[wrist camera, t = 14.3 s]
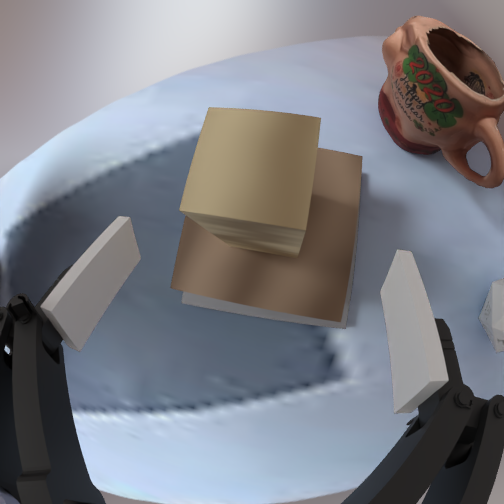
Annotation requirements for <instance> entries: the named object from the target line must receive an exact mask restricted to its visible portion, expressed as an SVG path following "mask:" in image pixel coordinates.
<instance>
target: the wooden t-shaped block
mask: <svg viewBox="0 0 504 504" xmlns="http://www.w3.org/2000/svg"><path fill="white" fill-rule="evenodd" d="M320 122H321V118H318V117H312V116H305V115H298V114H291V113H282V112H273V111H263V110H251V109H236V108H212V107H209V108H208V111H207V115H206V118H205V121H204V124H203V127H202V130H201V133H200V137H199V140H198V143H197V146H196V150H195V153H194V157H193V160H192V164H191V167H190V171H189V174H188V178H187V182H186V186H185V189H184V193H183V197H182V201H181V205H180V209H179V211H181V212H182V213H184V214H185V215H186V216H185V220H184V225H183V229H182V234H181V238H180V243H179V247H178V252H177V257H176V262H175V267H174V272H173V277H172V282H171V288H172V289H176V290H180V291H184V292H188V293H193V294H197V295H201V296H206V297H210V298H214V299H219V300H223V301H228V302H233V303H237V304H242V305H247V306H252V307H257V308H262V309H267V310H272V311H277V312H283V313H288V314H294V315H299V316H305V317H311V318H317V319H323V320H329V321H335V322H341V319H342V314H343V309H344V304H345V299H346V294H347V288H348V282H349V276H350V270H351V264H352V257H353V250H354V243H355V235H356V227H357V218H358V208H359V198H360V186H361V172H362V156H358V155H353V154H348V153H344V152H338V151H333V150H328V149H322V148H318V140H319V131H320Z"/></svg>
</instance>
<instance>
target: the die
mask: <svg viewBox="0 0 504 504" xmlns="http://www.w3.org/2000/svg"><path fill="white" fill-rule="evenodd" d="M478 319H479V320H480V322H481V324H482V326H483V328H484V329H485V331H486V333H487V335H488V337H489V339H490V341H491V343H492V345H493V347H494V349H495V351H496V353H498V352H501V351H504V278H503V279H500V280H497V281H494V282H492V284H491V287H490V290H489V293H488V295H487V298H486V301H485V303H484V306H483V308H482V311H481V313H480V315H479V318H478Z"/></svg>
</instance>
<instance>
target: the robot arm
mask: <svg viewBox="0 0 504 504" xmlns="http://www.w3.org/2000/svg"><path fill="white" fill-rule="evenodd" d="M140 259H141V256H140V253H139V249H138V246H137V242H136V238H135V235H134V231H133V227H132V223H131V219H130V217H122V216H118V217H117V218H116V219H115V220H114V221H113V222H112V224H111V225H110V226H109V227H108V228H107V229H106V230H105V231H104V232H103V233H102V234H101V235H100V236H99V237H98V238H97V239H96V240H95V241H94V242H93V244H92V245H91V246H90V247H89V248H88V249H87V250H86V251H85V252H84V254H83V255H82V256H81V257H80V258H79V259H78V260H77V262H76V263H75V264H74V265H71V266H70V267H69V268H67V269H66V270H64V271H63V272H62V274H61V275H60V276H59V277H58V280H56V281H55V282H54V283H53V286H51V287H50V288H49V290H48V291H47V292H46V293H45V295H44V296H43V297H42V299H41V300H40V301H39V303H38V304H37V305H36V306H35V307H34V306H33V304H32V303H31V301H30V300H29V298H28V297H27V295H26V294H23V293H22V294H18V295H16V296H14V297H13V298H12V299H11V300H10V301H9V303H8V304H7V307H6V308H5V307H0V504H106V503H105V501H104V498H103V496H102V494H101V493H100V491H99V490H98V489H97V488H96V487H95V486H94V485H93V483H92V482H91V479H90V477H89V474H88V471H87V468H86V465H85V462H84V458H83V455H82V451H81V448H80V444H79V440H78V437H77V433H76V428H75V424H74V420H73V415H72V410H71V405H70V399H69V393H68V387H67V380H66V373H65V364H64V355H63V347H62V345H61V344H60V343H61V342H62V340H64V341H65V343H66V344H67V345H68V346H69V347H70V348H72V349H75V350H77V351H79V352H80V351H81V350H82V348H83V346H84V345H85V343H86V341H87V340H88V338H89V336H90V335H91V333H92V331H93V330H94V328H95V326H96V325H97V323H98V322H99V320H100V319H101V317H102V315H103V314H104V312H105V311H106V309H107V308H108V306H109V305H110V303H111V301H112V300H113V298H114V297H115V295H116V294H117V292H118V291H119V290H120V288H121V287H122V285H123V284H124V282H125V281H126V279H127V278H128V276H129V275H130V274H131V272H132V271H133V269H134V268H135V266H136V265H137V264H138V262H139V261H140ZM380 294H381V300H382V305H383V311H384V317H385V324H386V331H387V338H388V346H389V354H390V363H391V374H392V386H393V401H394V414H396V413H411V412H412V411H414V410H415V409H416V408H417V407H418V411H419V414H418V415H417V416H416V417H414V418H413V419H412V420H410V421H409V422H408V423H407V425H410V424H411V425H410V426H409V427H408V429H407V430H406V431H405V433H404V434H403V436H402V437H401V438H400V440H399V441H398V442H397V443H396V445H395V446H394V447H393V448H392V450H391V451H390V452H389V453H388V455H387V456H386V457H385V458H384V459H383V461H382V462H381V463H380V464H379V465H378V466H377V467H376V469H375V470H374V471H373V472H372V473H371V474H370V475H369V476H368V477H367V478H366V479H365V481H364V482H363V483H362V484H361V485H360V486H359V487H358V488H357V489H356V490H355V491H354V492H353V493H352V494H351V495H350V496H349V497H348V498H346V499H345V500H344V501H343V502H342V503H341V504H416V503H417V502H418V501H419V499H420V498H421V497H422V495H423V494H424V493H425V491H426V490H427V489H428V487H429V486H430V487H429V490H428V492H427V494H426V496H425V498H424V500H423V502H422V504H487V502H488V499H489V496H490V494H491V491H492V488H493V485H494V482H495V479H496V475H497V472H498V469H499V465H500V461H501V457H502V453H503V449H504V397H503V396H502V395H496V396H494V397H493V398H491V399H490V400H485V399H481V398H478V397H475V396H474V394H473V392H472V390H471V389H470V388H469V387H468V386H466V385H464V384H463V381H462V377H461V372H460V368H459V363H458V359H457V355H456V351H455V350H454V349H455V347H454V343H453V342H452V336H451V333H450V329H449V327H448V326H447V324H446V323H445V321H444V320H443V319H436V318H434V316H433V313H432V309H431V306H430V303H429V300H428V296H427V293H426V290H425V287H424V284H423V281H422V279H421V276H420V273H419V270H418V267H417V265H416V262H415V260H414V257H413V254H412V252H411V251H405V250H399V249H397V251H396V254H395V257H394V259H393V262H392V264H391V267H390V269H389V272H388V274H387V277H386V279H385V281H384V284H383V286H382V288H381V291H380ZM5 345H6V346H7V347H8V348H9V349H10V353H9V354H8V353H7V352H6V351H5V350H4V349H5ZM430 484H431V485H430Z"/></svg>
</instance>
